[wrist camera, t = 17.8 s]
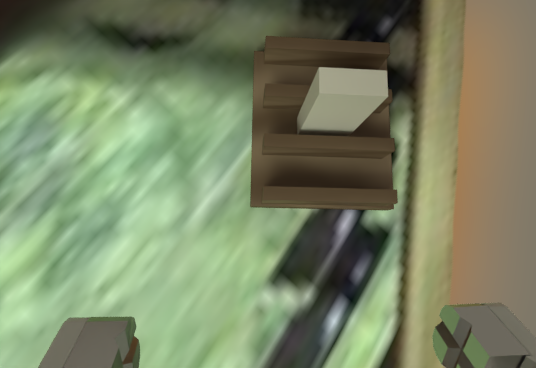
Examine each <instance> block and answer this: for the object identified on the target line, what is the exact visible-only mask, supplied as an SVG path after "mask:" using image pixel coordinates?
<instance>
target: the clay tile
mask: <svg viewBox="0 0 536 368" xmlns="http://www.w3.org/2000/svg"><path fill="white" fill-rule="evenodd" d="M387 97H388V82H387V71H385V70H366V69H346V68H327V67H319V68H318V71H317V73H316V75H315V78H314V80H313V82H312V84H311V87H310V89H309V91H308V94H307V96H306V98H305V101H304V103H303V105H302V107H301V110H300V112H299V114H298V117H297V135H321V136H347V137H348V136H349V135H350V134H351V133H352V132H353V131H354V130H355V129H356V128H357V127H358V126H359V125H360V124H361V123H362V122H363V121H364V120H365V119H366V118H367V117H368V116H369V115H370V114H371V113H372V112H373V111H374V110H375V109H376V108H377V107H378V106H379V105H380V104H381V103H382V102H383V101H384V100H385V99H386V98H387Z"/></svg>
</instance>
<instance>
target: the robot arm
mask: <svg viewBox="0 0 536 368" xmlns="http://www.w3.org/2000/svg"><path fill="white" fill-rule="evenodd" d="M439 316H440V318H441V319H442V322H441V323H440V324H439V325H437V326H436V327H435V329H434V333H433V336H432V337H433V347H434V350H435V353H436V355H437V357H438V359H439V361H440V362H441V364H442V365H443V366H445V367H446V368H536V337H535V336H534V335H533V334H532V333H531V332H530V331H529V330H528V329H527V328H526V327H525V326H524V325H523V323H522V322H521V321H520V320H519V319H518V318H517V317H516V316H515V315H514V314H513V313H512V312H511V311H510V310H509V309H508V307H506V306H505V305H503V304H501V303H483V304H457V305H445V306H444V307H443V308H442V310H441V312H440V315H439ZM135 330H136V323H135V319H134V317H88V318H69V319H67V320H66V321H65V322H64V323H63V324H62V326H61V328H60V330H59V331H58V333H57V335H56V337H55V338H54V340H53V342H52V344H51V346H50V347H49V349H48V351H47V353H46V354H45V356H44V358H43V360H42V361H41V363H40V365H39V367H38V368H138V367H139V359H140V345H139V340H138V339H137V338H136V337H135V336H134V333H135Z"/></svg>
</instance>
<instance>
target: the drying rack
mask: <svg viewBox="0 0 536 368" xmlns="http://www.w3.org/2000/svg"><path fill="white" fill-rule="evenodd" d="M389 55H390V44H389V43H379V42H362V41H345V40H328V39H311V38H293V37H276V36H266V41H265V50H264V51H254V77H253V119H252V160H251V202H250V207H265V208H309V209H353V210H391V209H394V204H396V203H397V190H393V181H392V160H391V153H392V152H394V151H395V143H394V138H390V119H389V104H390V103H391V102H392V89H388V97H387V98H386V99H385V100H384V101H383V102H382V103H381V104H380V105H379V106H378V107H377V108H376V109H375V110H374V111H373V112H372V113H371V114H370V115H369V116H368V117H367V118H366V119H365V120H364V121H363V122H362V123H361V124H360V125H359V126H358V127H357V128H356V129H355V130H354V131H353V132H352V133H351V134H350V135H349V136H348V137H347V136H321V135H297V117H298V114H299V112H300V110H301V107H302V105H303V103H304V101H305V98H306V96H307V94H308V91H309V89H310V87H311V84H312V82H313V80H314V78H315V75H316V73H317V71H318V68H319V67H327V68H346V69H366V70H385V71H387V58H388V56H389ZM387 82H388V77H387Z"/></svg>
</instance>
